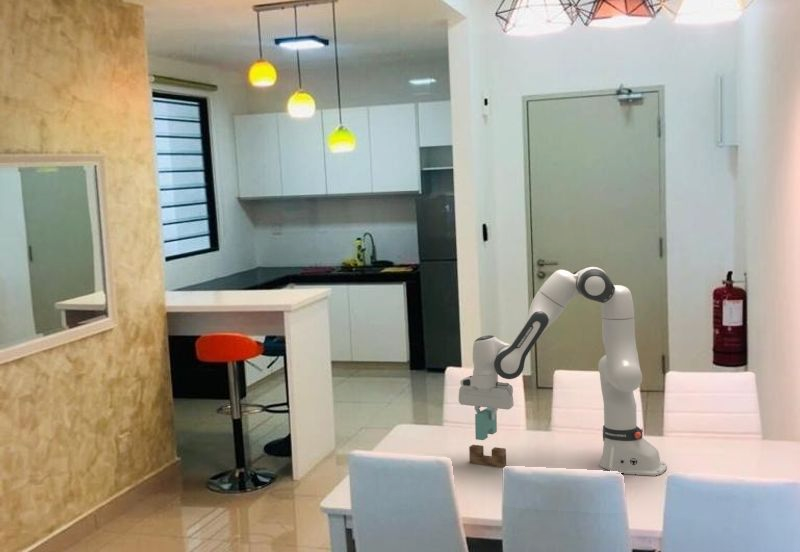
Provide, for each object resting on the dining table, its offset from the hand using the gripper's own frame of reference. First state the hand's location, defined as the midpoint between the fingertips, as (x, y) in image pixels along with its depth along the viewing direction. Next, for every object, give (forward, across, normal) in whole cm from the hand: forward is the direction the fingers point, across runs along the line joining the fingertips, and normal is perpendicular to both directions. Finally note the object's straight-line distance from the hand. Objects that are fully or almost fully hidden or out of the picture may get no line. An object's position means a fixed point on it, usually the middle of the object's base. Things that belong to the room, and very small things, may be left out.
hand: (486, 418), depth 307 cm
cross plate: (+6, 0, 0) cm, 6 cm away
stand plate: (+17, 0, 0) cm, 17 cm away
